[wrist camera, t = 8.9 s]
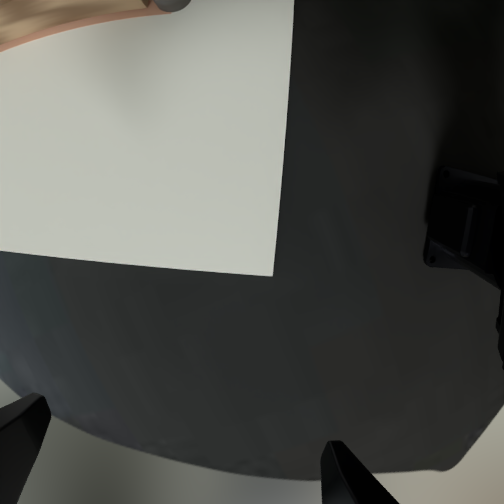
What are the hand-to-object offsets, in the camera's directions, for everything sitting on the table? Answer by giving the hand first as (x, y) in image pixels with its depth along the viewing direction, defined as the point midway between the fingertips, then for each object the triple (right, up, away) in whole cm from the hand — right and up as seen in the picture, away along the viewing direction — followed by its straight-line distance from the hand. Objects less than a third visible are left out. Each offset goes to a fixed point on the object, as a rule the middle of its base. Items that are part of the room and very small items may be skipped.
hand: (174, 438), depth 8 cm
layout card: (-7, +19, +7) cm, 21 cm away
